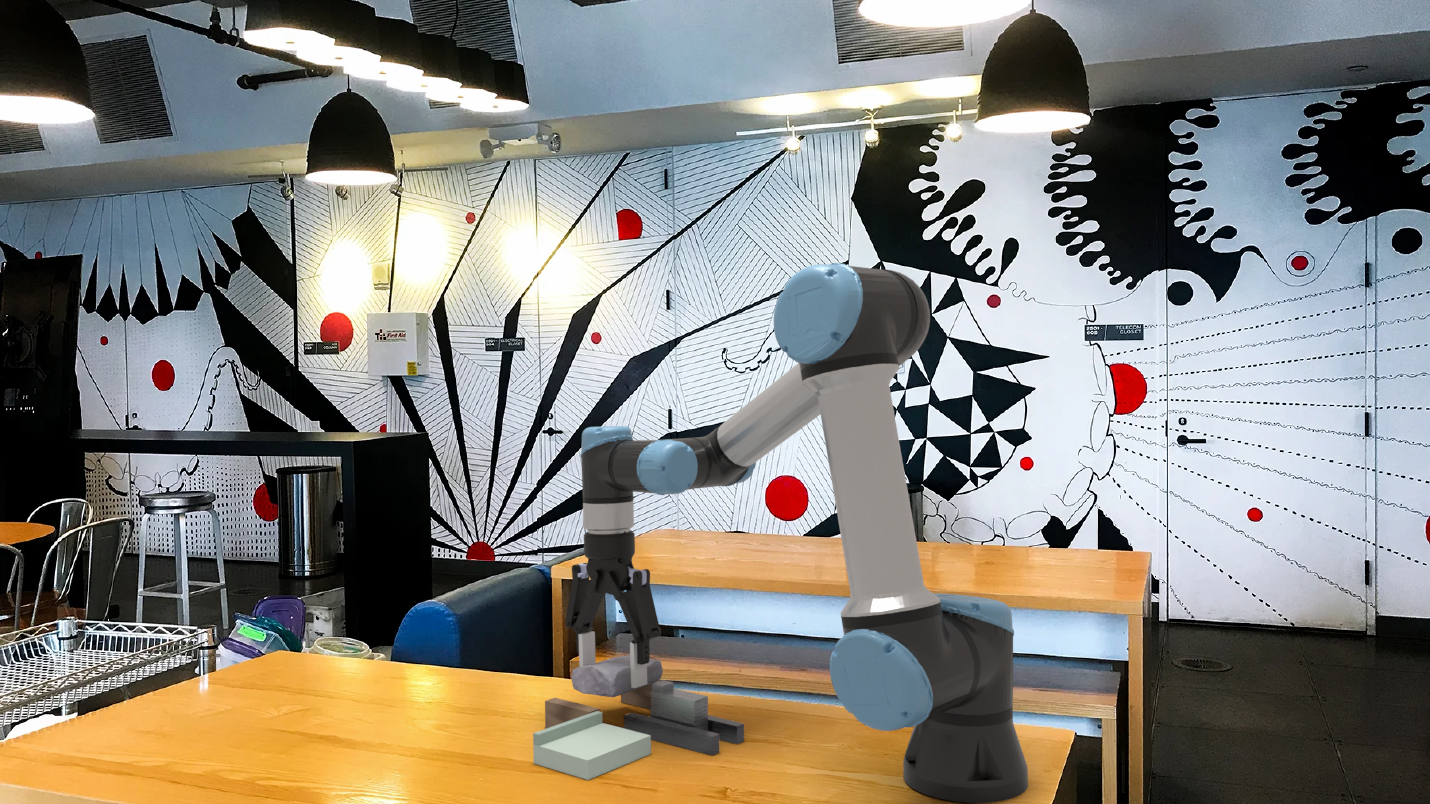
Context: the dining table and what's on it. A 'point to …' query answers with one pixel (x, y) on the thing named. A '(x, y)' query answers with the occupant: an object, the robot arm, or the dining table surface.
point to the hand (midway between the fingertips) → (613, 680)
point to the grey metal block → (679, 706)
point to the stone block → (612, 676)
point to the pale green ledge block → (588, 746)
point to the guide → (687, 732)
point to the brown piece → (568, 710)
